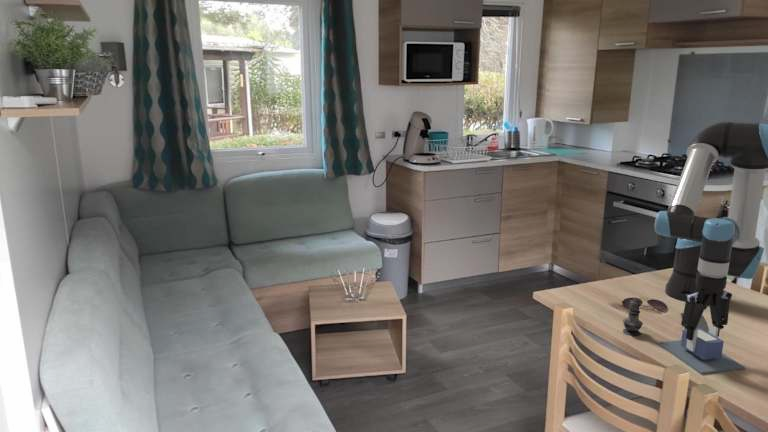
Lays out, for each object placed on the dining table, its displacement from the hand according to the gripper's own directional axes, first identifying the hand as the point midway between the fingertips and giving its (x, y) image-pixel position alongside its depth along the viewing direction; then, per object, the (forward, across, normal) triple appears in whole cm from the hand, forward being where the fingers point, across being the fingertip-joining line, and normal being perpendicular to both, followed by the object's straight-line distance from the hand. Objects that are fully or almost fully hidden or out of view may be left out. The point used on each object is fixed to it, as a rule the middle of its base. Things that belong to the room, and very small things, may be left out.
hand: (700, 348), depth 171 cm
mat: (+3, 0, 0) cm, 3 cm away
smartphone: (+3, -14, -19) cm, 24 cm away
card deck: (+1, 0, 0) cm, 1 cm away
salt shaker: (+3, +10, -18) cm, 21 cm away
